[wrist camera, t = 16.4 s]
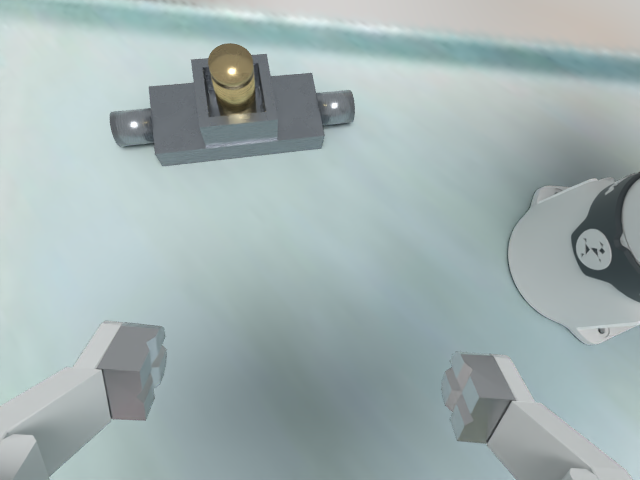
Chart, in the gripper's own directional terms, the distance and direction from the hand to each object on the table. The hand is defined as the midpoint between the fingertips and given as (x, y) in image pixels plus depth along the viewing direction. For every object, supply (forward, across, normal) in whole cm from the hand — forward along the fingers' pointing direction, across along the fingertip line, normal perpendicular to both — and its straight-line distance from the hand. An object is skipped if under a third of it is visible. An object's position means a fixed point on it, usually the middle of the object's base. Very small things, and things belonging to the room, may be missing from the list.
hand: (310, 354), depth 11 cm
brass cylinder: (+37, +8, +3) cm, 38 cm away
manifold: (+39, +8, +5) cm, 40 cm away
